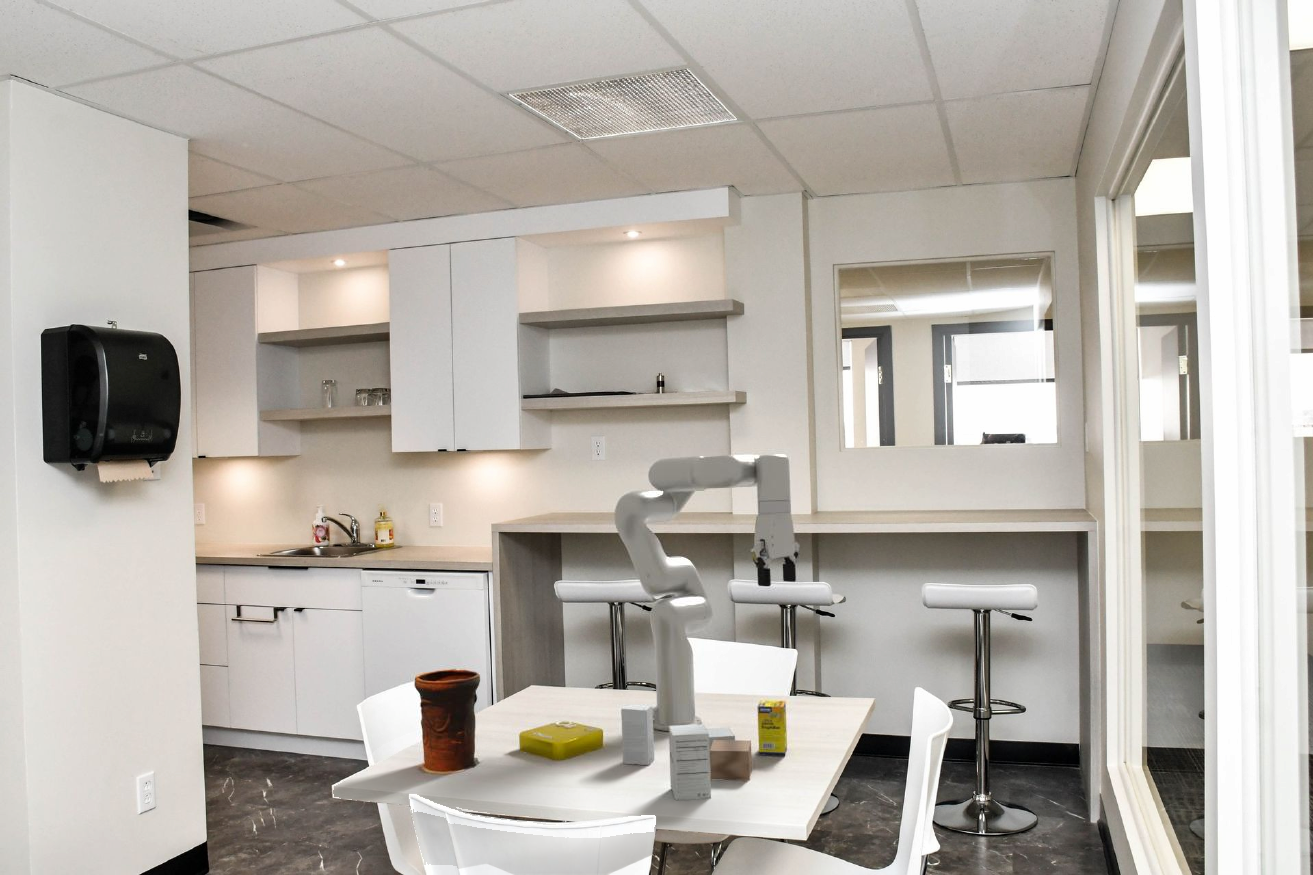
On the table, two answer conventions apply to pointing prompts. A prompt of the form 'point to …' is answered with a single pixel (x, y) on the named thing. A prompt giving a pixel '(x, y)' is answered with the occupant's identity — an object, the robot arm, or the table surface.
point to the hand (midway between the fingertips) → (777, 583)
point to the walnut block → (730, 760)
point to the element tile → (561, 740)
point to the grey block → (720, 735)
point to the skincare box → (637, 734)
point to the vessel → (448, 719)
